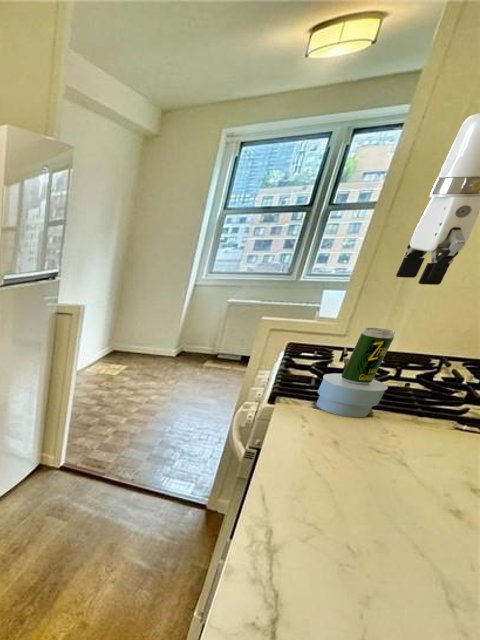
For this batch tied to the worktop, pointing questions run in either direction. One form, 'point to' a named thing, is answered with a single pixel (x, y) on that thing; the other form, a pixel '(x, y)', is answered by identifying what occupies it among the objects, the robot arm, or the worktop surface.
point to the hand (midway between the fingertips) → (416, 280)
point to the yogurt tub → (348, 396)
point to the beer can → (367, 356)
